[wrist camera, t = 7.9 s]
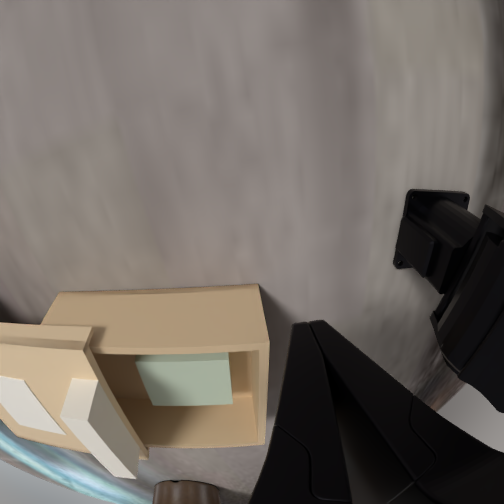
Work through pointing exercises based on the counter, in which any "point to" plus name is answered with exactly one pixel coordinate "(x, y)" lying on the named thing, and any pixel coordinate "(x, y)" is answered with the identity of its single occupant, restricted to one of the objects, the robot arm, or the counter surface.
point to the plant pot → (185, 493)
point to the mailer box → (179, 360)
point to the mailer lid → (64, 396)
